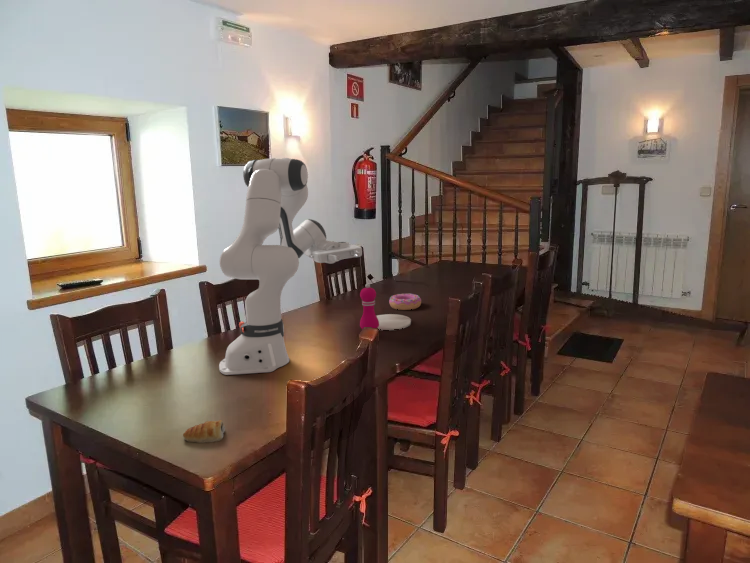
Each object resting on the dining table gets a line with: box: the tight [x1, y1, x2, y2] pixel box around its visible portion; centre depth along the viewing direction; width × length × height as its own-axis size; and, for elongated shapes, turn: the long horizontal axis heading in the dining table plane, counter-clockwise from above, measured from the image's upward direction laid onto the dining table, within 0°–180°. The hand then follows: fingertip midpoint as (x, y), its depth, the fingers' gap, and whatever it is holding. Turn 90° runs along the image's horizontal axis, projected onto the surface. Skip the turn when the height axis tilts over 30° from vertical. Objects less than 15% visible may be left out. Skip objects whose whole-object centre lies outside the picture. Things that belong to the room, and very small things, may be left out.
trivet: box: [376, 313, 412, 331], centre depth 214 cm, size 18×18×2 cm
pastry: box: [182, 419, 226, 444], centre depth 128 cm, size 9×7×4 cm
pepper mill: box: [359, 283, 379, 330], centre depth 198 cm, size 7×7×20 cm
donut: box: [388, 293, 422, 311], centre depth 240 cm, size 14×14×5 cm
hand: (348, 256), depth 204 cm, fingers open, 8 cm apart
